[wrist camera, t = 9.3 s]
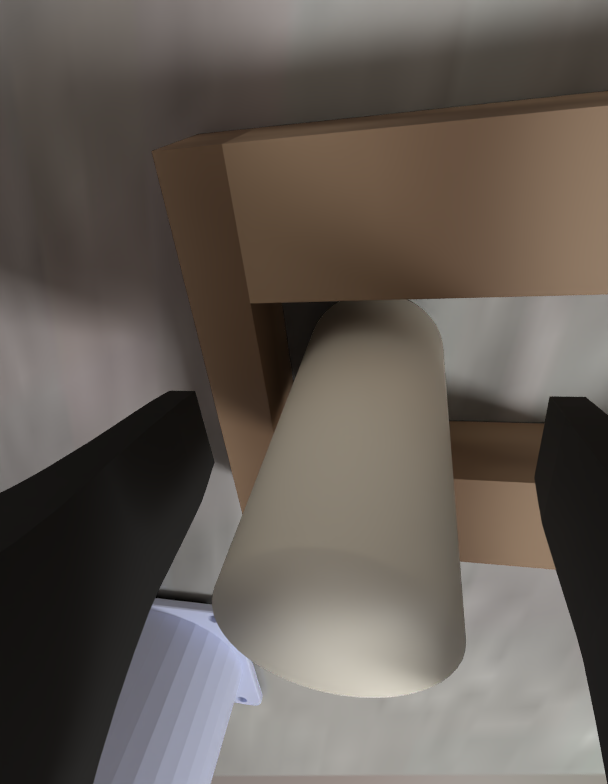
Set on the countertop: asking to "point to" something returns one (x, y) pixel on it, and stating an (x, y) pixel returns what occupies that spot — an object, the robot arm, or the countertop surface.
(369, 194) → the keyhole board
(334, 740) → the countertop surface
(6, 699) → the robot arm
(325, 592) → the cream peg
